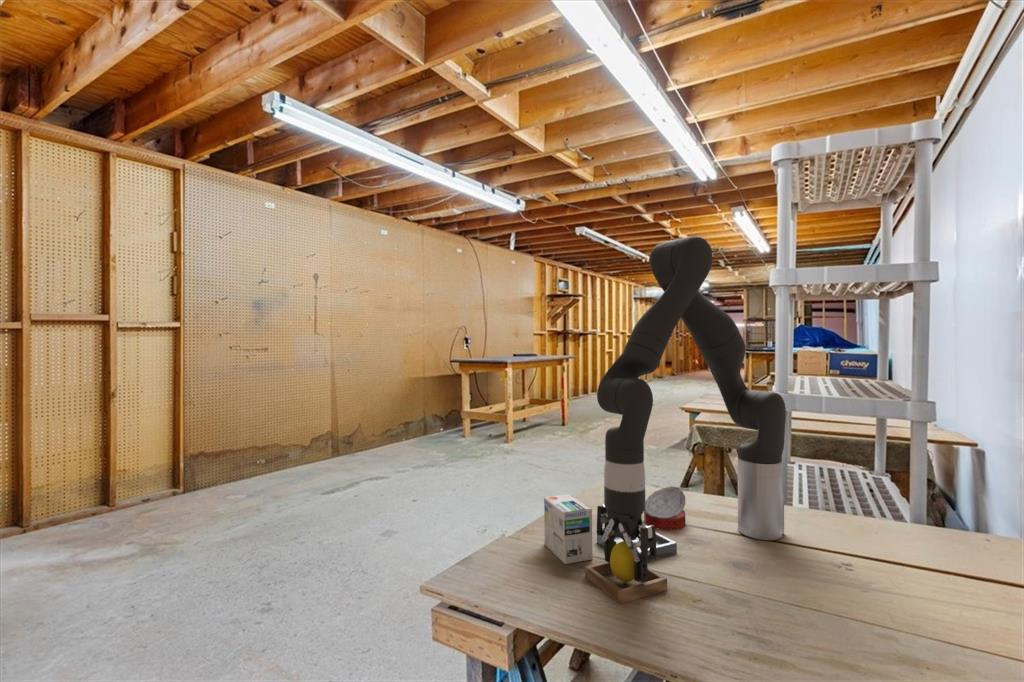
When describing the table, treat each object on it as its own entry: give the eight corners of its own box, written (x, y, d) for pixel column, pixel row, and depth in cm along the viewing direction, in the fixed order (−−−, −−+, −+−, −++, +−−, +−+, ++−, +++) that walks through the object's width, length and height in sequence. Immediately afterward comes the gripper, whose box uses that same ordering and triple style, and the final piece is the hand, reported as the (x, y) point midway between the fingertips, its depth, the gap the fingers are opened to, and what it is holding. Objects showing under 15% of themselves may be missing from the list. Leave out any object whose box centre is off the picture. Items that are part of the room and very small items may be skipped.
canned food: (686, 546, 117) (697, 517, 112) (644, 541, 117) (654, 512, 112) (675, 510, 127) (684, 481, 122) (636, 506, 127) (645, 477, 122)
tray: (638, 532, 114) (638, 523, 114) (676, 553, 103) (676, 542, 103) (596, 542, 108) (596, 532, 108) (632, 565, 98) (632, 554, 98)
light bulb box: (593, 560, 100) (593, 508, 100) (564, 565, 98) (564, 512, 98) (570, 540, 110) (569, 492, 110) (543, 544, 108) (542, 496, 108)
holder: (628, 565, 97) (628, 555, 97) (667, 589, 88) (667, 578, 88) (585, 577, 93) (585, 566, 93) (620, 604, 83) (620, 592, 83)
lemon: (642, 579, 92) (642, 537, 92) (637, 593, 87) (637, 549, 87) (613, 573, 94) (613, 532, 94) (606, 587, 89) (606, 543, 89)
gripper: (667, 491, 86) (667, 583, 86) (616, 472, 98) (616, 551, 98) (634, 498, 82) (634, 593, 82) (585, 476, 95) (586, 559, 95)
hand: (624, 570), depth 90 cm, fingers open, 8 cm apart
